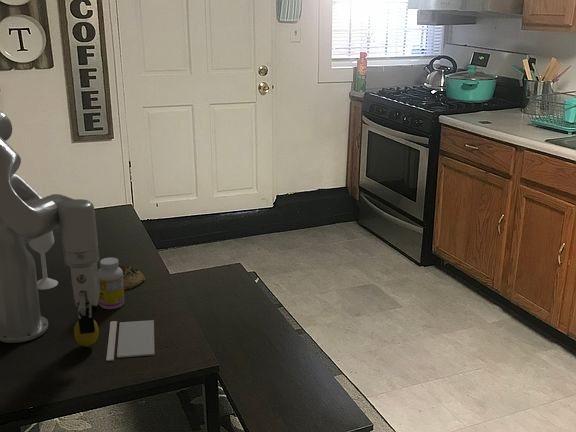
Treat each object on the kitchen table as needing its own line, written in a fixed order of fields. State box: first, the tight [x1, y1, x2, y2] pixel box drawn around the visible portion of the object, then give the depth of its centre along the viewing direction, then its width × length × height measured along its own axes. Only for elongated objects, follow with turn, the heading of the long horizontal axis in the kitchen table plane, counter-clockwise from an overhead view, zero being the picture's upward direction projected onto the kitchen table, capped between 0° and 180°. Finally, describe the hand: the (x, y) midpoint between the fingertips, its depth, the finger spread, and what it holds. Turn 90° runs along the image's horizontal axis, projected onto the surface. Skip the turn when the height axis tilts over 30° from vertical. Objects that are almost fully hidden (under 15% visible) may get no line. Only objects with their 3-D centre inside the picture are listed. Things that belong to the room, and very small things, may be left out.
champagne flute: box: [28, 230, 59, 290], centre depth 174 cm, size 7×7×24 cm
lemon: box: [73, 319, 100, 348], centre depth 146 cm, size 6×6×8 cm
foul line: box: [105, 320, 118, 362], centre depth 151 cm, size 2×18×1 cm, turn 12°
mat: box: [116, 319, 156, 359], centre depth 152 cm, size 8×16×1 cm, turn 12°
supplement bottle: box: [98, 257, 125, 310], centre depth 166 cm, size 7×7×13 cm
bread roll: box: [118, 265, 146, 290], centre depth 181 cm, size 11×11×5 cm
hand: (89, 322), depth 145 cm, fingers open, 9 cm apart
